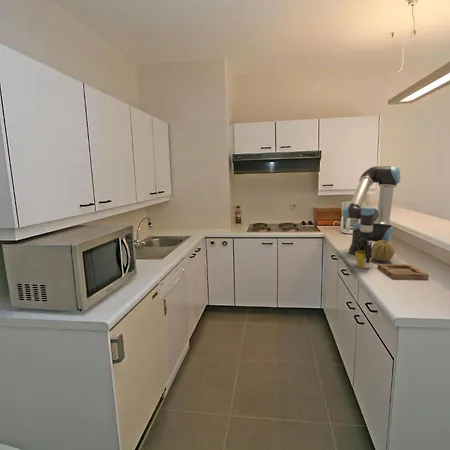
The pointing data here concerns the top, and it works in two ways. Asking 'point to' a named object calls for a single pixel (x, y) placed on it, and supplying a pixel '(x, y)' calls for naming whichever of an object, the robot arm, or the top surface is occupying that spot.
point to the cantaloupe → (382, 251)
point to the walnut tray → (402, 271)
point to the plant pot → (361, 258)
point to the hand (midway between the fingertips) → (363, 265)
